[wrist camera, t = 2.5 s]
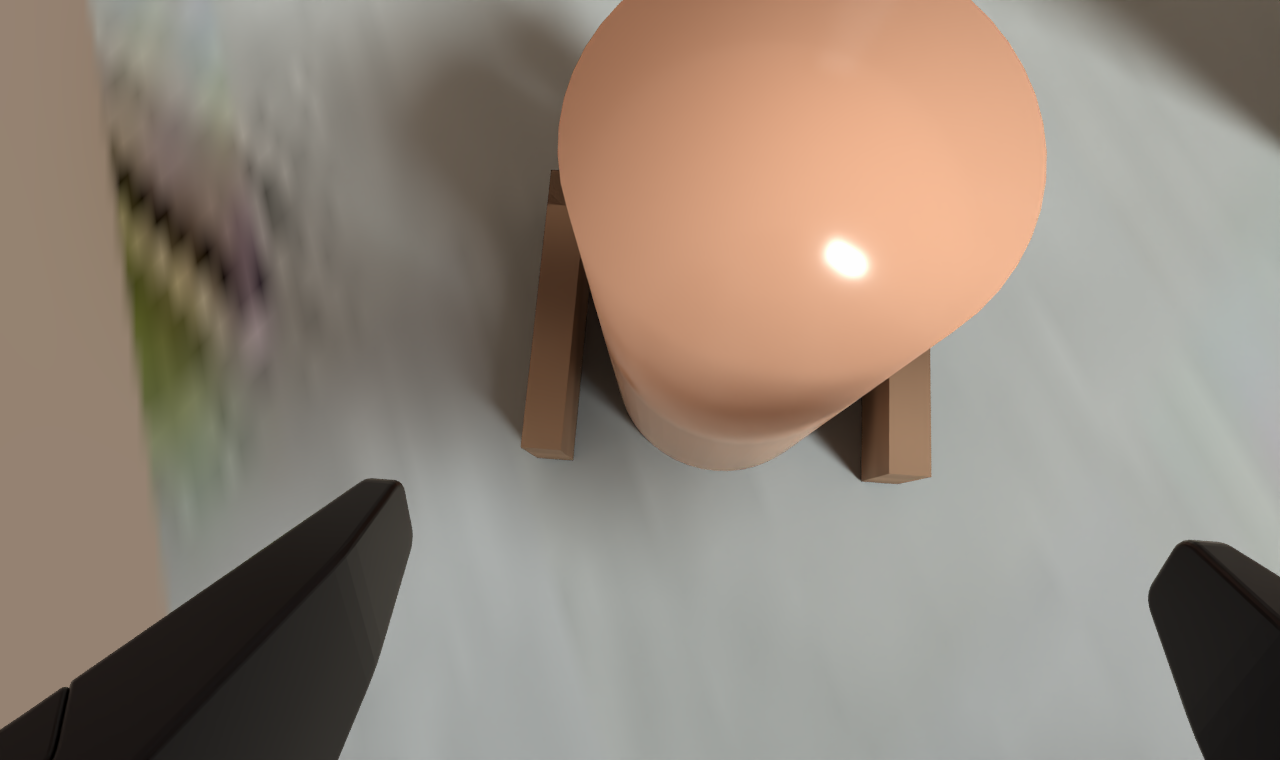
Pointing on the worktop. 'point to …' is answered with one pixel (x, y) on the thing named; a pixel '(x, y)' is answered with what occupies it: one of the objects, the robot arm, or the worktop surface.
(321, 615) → the robot arm
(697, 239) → the jug
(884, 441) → the jug cradle
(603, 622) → the worktop surface
